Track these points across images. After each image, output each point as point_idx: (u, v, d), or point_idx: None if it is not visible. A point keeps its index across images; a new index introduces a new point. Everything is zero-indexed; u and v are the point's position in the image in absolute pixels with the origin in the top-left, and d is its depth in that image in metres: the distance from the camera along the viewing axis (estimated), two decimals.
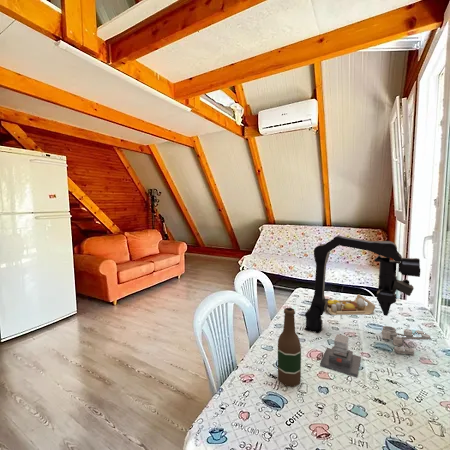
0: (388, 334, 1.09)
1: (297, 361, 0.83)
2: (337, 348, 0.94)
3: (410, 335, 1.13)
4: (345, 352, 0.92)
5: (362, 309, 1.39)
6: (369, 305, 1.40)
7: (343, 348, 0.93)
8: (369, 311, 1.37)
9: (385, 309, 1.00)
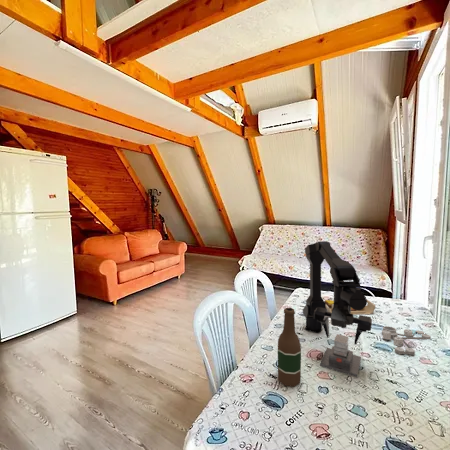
0: (388, 334, 1.09)
1: (297, 361, 0.83)
2: (337, 348, 0.94)
3: (410, 335, 1.12)
4: (345, 352, 0.92)
5: (362, 309, 1.39)
6: (369, 305, 1.40)
7: (343, 348, 0.93)
8: (369, 311, 1.38)
9: None
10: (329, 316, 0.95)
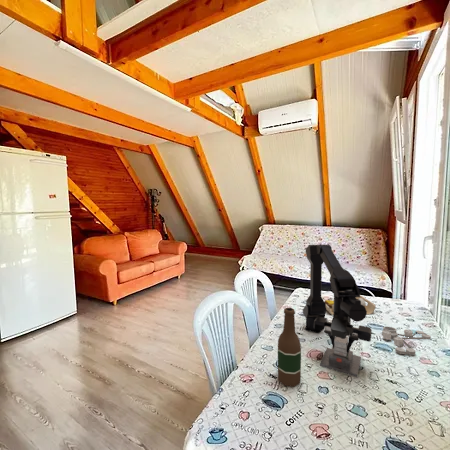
0: (389, 334, 1.09)
1: (297, 361, 0.83)
2: (337, 348, 0.94)
3: (410, 335, 1.12)
4: (345, 352, 0.92)
5: None
6: (369, 305, 1.40)
7: (343, 348, 0.93)
8: (369, 311, 1.38)
9: None
10: (329, 326, 0.95)
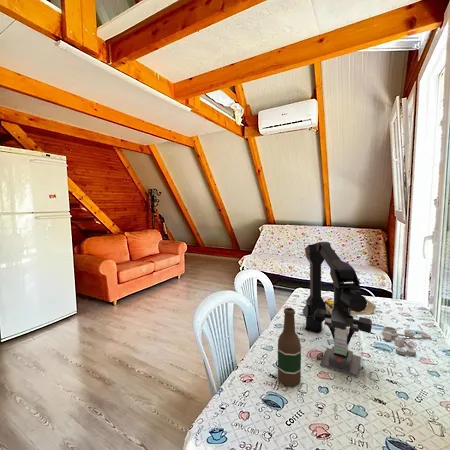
0: (389, 335, 1.09)
1: (297, 361, 0.83)
2: (337, 340, 0.93)
3: (411, 335, 1.12)
4: (345, 344, 0.92)
5: None
6: (369, 305, 1.40)
7: (343, 340, 0.92)
8: (369, 311, 1.38)
9: None
10: (329, 318, 0.95)
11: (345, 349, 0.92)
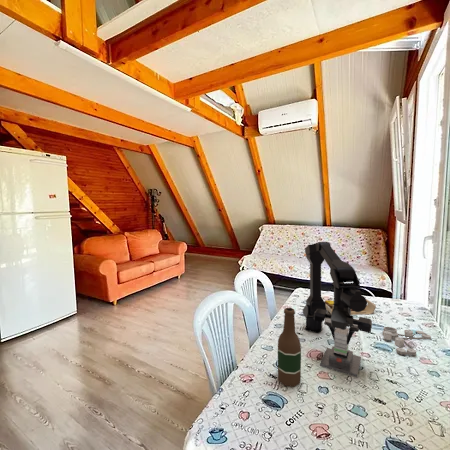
0: (389, 335, 1.09)
1: (297, 361, 0.83)
2: (337, 340, 0.93)
3: (411, 335, 1.12)
4: (345, 344, 0.92)
5: None
6: (369, 305, 1.40)
7: (343, 340, 0.92)
8: (370, 311, 1.38)
9: None
10: (329, 318, 0.95)
11: (345, 349, 0.92)
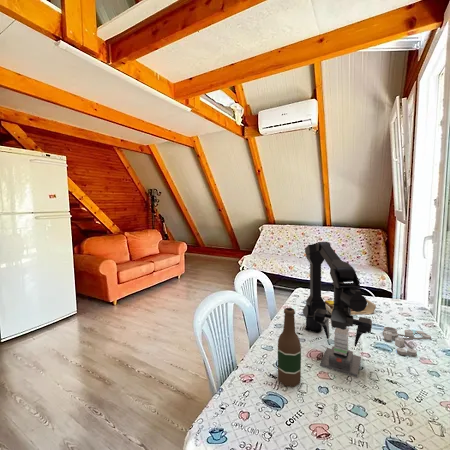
0: (390, 335, 1.09)
1: (297, 361, 0.83)
2: (337, 340, 0.93)
3: (411, 336, 1.12)
4: (345, 344, 0.92)
5: None
6: (369, 305, 1.40)
7: (343, 340, 0.92)
8: (370, 311, 1.38)
9: None
10: (329, 318, 0.95)
11: (345, 349, 0.92)
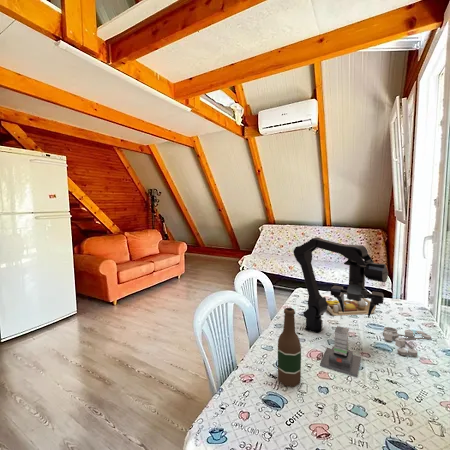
0: (390, 335, 1.08)
1: (297, 361, 0.83)
2: (337, 340, 0.93)
3: (411, 336, 1.12)
4: (345, 344, 0.92)
5: (363, 309, 1.39)
6: (369, 305, 1.40)
7: (343, 340, 0.92)
8: None
9: None
10: (345, 292, 1.06)
11: (345, 349, 0.92)
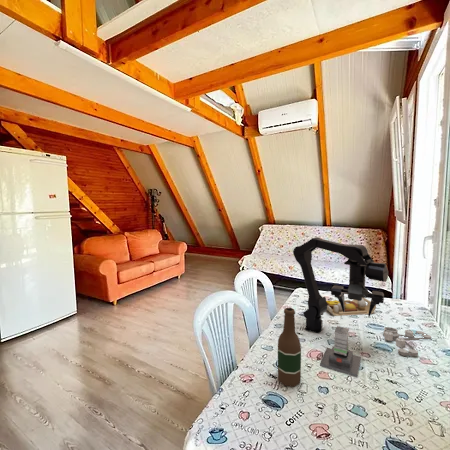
0: (391, 335, 1.08)
1: (297, 361, 0.83)
2: (337, 340, 0.93)
3: (411, 336, 1.12)
4: (345, 344, 0.92)
5: (363, 309, 1.39)
6: (369, 305, 1.41)
7: (343, 340, 0.92)
8: None
9: None
10: (345, 292, 1.06)
11: (345, 349, 0.92)
